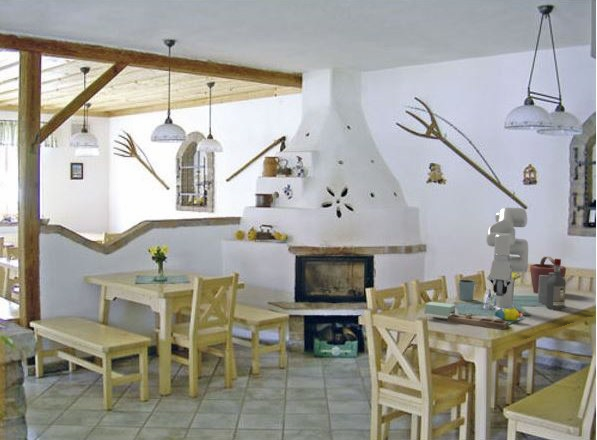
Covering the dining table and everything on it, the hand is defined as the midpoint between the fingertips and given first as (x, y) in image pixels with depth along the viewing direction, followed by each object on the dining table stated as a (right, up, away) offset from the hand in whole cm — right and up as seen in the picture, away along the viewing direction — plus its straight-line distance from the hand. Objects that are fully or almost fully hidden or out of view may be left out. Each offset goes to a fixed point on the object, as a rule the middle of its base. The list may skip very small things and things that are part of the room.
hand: (500, 292), depth 356 cm
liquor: (+49, -16, +54) cm, 75 cm away
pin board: (-10, -17, +7) cm, 21 cm away
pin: (0, -1, 0) cm, 1 cm away
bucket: (+63, -12, +109) cm, 126 cm away
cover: (-28, -13, +18) cm, 35 cm away
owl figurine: (+9, -18, +16) cm, 26 cm away
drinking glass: (+1, -13, +77) cm, 78 cm away
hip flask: (+51, -15, +67) cm, 86 cm away
